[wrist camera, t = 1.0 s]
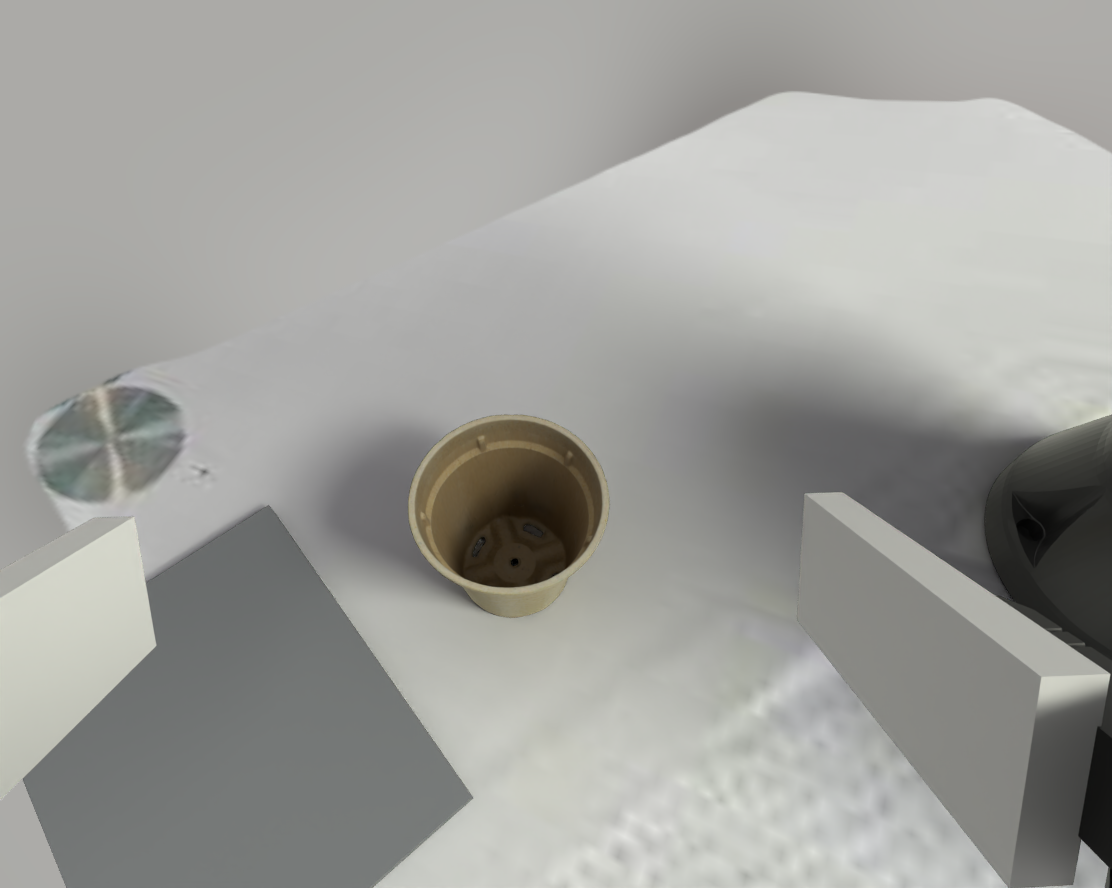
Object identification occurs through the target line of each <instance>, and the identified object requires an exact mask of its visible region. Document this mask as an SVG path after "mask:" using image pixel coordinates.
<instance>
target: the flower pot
mask: <svg viewBox="0 0 1112 888" xmlns="http://www.w3.org/2000/svg"><path fill="white" fill-rule="evenodd" d="M608 514H609V493H608V486H607V481H606V478H605V475H604V473H603V470H602V468H601V466H600V464H599V462H598V461H597V459H596V458H595V456H594V454H593V453H592V452H591V450H590V449H589V448H588V447H587V446H586V445H585V444H584V443H583V442H582V441H581V440H580V439H579V438H578V437H577V436H575V435H573V434H572V433H571V432H569V431H568V430H567V429H565V428H563V427H561V426H559V425H557V424H555V423H553V422H550V421H547V420H543V419H540V418H537V417H532V416H526V415H495V416H488V417H485V418H482V419H477V420H474V421H471V422H469V423H467V424H465V425H462V426H460V427H459V428H457V429H455V430H453V431H451V432H450V433H448V434H447V435H446V436H444V437H443V438H442V439H441V440H440V441H439V442H438V443H437V444H436V445H434V446H433V447H432V449H431V450H430V451H429V452H428V453H427V455H426V456H425V457H424V459H423V460H422V462H421V464H420V465H419V467H418V469H417V471H416V473H415V475H414V478H413V480H412V483H411V487H410V491H409V498H408V516H409V524H410V528H411V531H412V534H413V537H414V539H415V542H416V544H417V546H418V547H419V549H420V551H421V553H422V554H423V555H424V557H425V558H426V559H427V561H428V562H429V563H430V564H431V565H432V566H433V567H434V568H435V569H436V570H437V571H438V572H439V573H440V574H442V575H443V576H444V577H446V578H447V579H449V580H450V581H452V582H454V583H455V584H457V585H459V586H462V587H463V588H464V589H465V591H466V592H467V594H468V595H469V597H470V598H471V599H472V600H473V601H474V602H475V603H476V604H477V605H479V606H480V607H481V608H482V609H484V610H486V611H488V612H490V613H492V614H495V615H498V616H503V617H510V618H516V617H522V616H526V615H530V614H533V613H536V612H539V611H541V610H543V609H545V608H546V607H548V606H549V605H550V604H551V603H553V601H554V600H555V599H556V598H557V597H558V596H559V595H560V593H561V592H562V590H563V588H564V587H565V584H566V582H567V580H568V577H570V576H571V575H572V574H574V573H575V572H576V571H577V570H578V569H579V568H581V567H582V566H583V565H584V564H585V562H586V561H587V560H588V559H589V558H590V556H591V555H592V554H593V552H594V551H595V549H596V548H597V546H598V544H599V542H600V540H601V538H602V536H603V534H604V531H605V527H606V524H607V520H608ZM525 525H532V526H534V527H535V528H537V529H538V530H541V531H542V532H543V535H542V536H541V537H538V536H536V535H533V534H531V533H529V532H527V531H524V527H525ZM482 537H484V538H485V544H484V545H483V546H482V547H481V549H480V551H479V553H478V555H477V556H476V557H473V556H472V555H473V550H474V548H475V545H476V544H477V542H478V540H479V539H480V538H482ZM512 559H517V560H518V564H517V565H515V566H512V564H511V560H512ZM553 574H557V575H556V576H554V577H553Z"/></svg>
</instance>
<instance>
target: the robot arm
mask: <svg viewBox="0 0 1112 888" xmlns="http://www.w3.org/2000/svg"><path fill="white" fill-rule="evenodd" d="M985 533H986V539H987V544H988V548H989V552H990V555H991V558H992V561H993V563H994V565H995V568H996V570H997V572H998V574H999V576H1000V578H1001V580H1002V582H1003V584H1004V585H1005V587H1006V589H1007V590H1008V592H1009V593H1010V595H1011V596H1012V598H1013V599H1014V601H1015V602H1013V601H1011V600H1008V599H1006V598H1003V597H1001V596H995V595H993V594H992V593H990V592H989V591H987V590H986V589H985V588H983V587H982V586H980V585H979V584H977V583H976V582H974V581H973V580H971V579H970V578H968V577H967V576H965V575H964V574H962V573H961V572H959V571H958V570H956V569H955V568H954V567H952V566H951V565H949V564H948V563H946V562H945V561H943V560H942V559H940V558H939V557H937V556H936V555H934V554H933V553H931V552H930V551H928V550H927V549H926V548H924V547H923V546H921V545H920V544H918V543H917V542H915V541H914V540H912V539H911V538H909V537H908V536H906V535H905V534H903V533H902V532H900V531H899V530H897V529H896V528H895V527H893V526H892V525H890V524H889V523H887V522H886V521H884V520H883V519H881V518H880V517H878V516H877V515H875V514H874V513H872V512H871V511H869V510H868V509H867V508H865V507H864V506H862V505H861V504H859V503H858V502H856V501H855V500H853V499H852V498H850V497H849V496H847V495H846V494H844V493H843V492H831V493H805V494H804V510H803V527H802V543H801V559H800V575H799V591H798V608H797V621H798V622H799V623H800V624H801V626H802V627H803V628H804V630H805V631H806V632H807V633H808V635H809V636H810V637H811V638H812V640H813V641H814V642H815V643H816V645H817V646H818V647H819V648H820V650H821V651H822V652H823V654H824V655H825V656H826V657H827V659H828V660H829V661H830V662H831V664H832V665H833V666H834V667H835V669H836V670H837V671H838V673H839V674H840V675H841V676H842V678H843V679H844V680H845V681H846V683H847V684H848V685H849V686H850V688H851V689H852V690H853V691H854V693H855V694H856V695H857V697H858V698H859V699H860V700H861V702H862V703H863V704H864V705H865V707H866V708H867V709H868V710H869V712H870V713H871V714H872V716H873V717H874V718H875V719H876V721H877V722H878V723H879V724H880V726H881V727H882V728H883V729H884V731H885V732H886V733H887V734H888V736H889V737H890V738H891V740H892V741H893V742H894V743H895V745H896V746H897V747H898V748H899V750H900V751H901V752H902V753H903V755H904V756H905V757H906V759H907V760H908V761H909V762H910V764H911V765H912V766H913V767H914V769H915V770H916V771H917V772H918V774H919V775H920V776H921V777H922V779H923V780H924V781H925V783H926V784H927V785H928V786H929V788H930V789H931V790H932V791H933V793H934V794H935V795H936V796H937V798H938V799H939V800H940V802H941V803H942V804H943V805H944V807H945V808H946V809H947V810H948V812H949V813H950V814H951V815H952V817H953V818H954V819H955V820H956V822H957V823H958V824H959V826H960V827H961V828H962V829H963V831H964V832H965V833H966V834H967V836H968V837H969V838H970V839H971V841H972V842H973V843H974V845H975V846H976V847H977V848H978V850H979V851H980V852H981V853H982V855H983V856H984V857H985V858H986V860H987V861H988V862H989V863H990V865H991V866H992V867H993V869H994V870H995V871H996V872H997V874H998V875H999V876H1000V877H1001V879H1002V880H1003V881H1004V882H1005V884H1006V885H1007V886H1008V888H1026V887H1044V886H1063V885H1073V882H1074V877H1075V871H1076V865H1077V860H1078V854H1079V849H1080V843H1081V839H1082V840H1083V841H1084V842H1085V843H1086V844H1087V845H1088V846H1089V847H1090V848H1091V849H1092V850H1093V851H1094V853H1095V854H1096V855H1097V856H1098V857H1099V858H1100V859H1101V860H1102V861H1103V862H1104V863H1105V864H1106V865H1107V866H1108V867H1109V868H1108V873H1107V879H1106V884H1105V888H1112V415H1109V416H1106V417H1103V418H1100V419H1097V420H1094V421H1091V422H1088V423H1085V424H1082V425H1079V426H1076V427H1073V428H1070V429H1067V430H1065V431H1062V432H1059V433H1056V434H1053V435H1051V436H1049V437H1047V438H1044V439H1043V440H1041V441H1039V442H1037V443H1036V444H1034V445H1032V446H1031V447H1030V448H1028V449H1027V450H1026V451H1025V452H1024V453H1022V454H1021V455H1020V456H1019V457H1018V458H1017V459H1016V460H1014V461H1013V462H1012V463H1011V464H1010V465H1009V466H1008V467H1007V468H1006V469H1004V471H1003V472H1002V473H1001V474H1000V475H999V477H998V478H997V479H996V481H995V483H994V485H993V486H992V488H991V491H990V493H989V496H988V500H987V504H986V510H985ZM155 647H156V641H155V635H154V629H153V623H152V617H151V611H150V605H149V600H148V594H147V588H146V582H145V576H144V570H143V564H142V558H141V552H140V547H139V541H138V535H137V529H136V523H135V517H134V516H133V517H104V518H93V519H91V520H89V521H87V522H86V523H84V524H82V525H80V526H78V527H76V528H75V529H73V530H71V531H69V532H67V533H66V534H64V535H62V536H60V537H58V538H57V539H55V540H53V541H51V542H49V543H48V544H46V545H44V546H42V547H40V548H39V549H37V550H35V551H33V552H31V553H30V554H28V555H26V556H24V557H22V558H21V559H19V560H17V561H15V562H13V563H12V564H10V565H8V566H6V567H4V568H3V569H1V570H0V801H1V800H2V799H3V798H4V797H5V796H6V794H8V793H9V791H11V790H12V789H13V788H14V787H15V786H16V785H17V784H18V783H19V782H20V781H21V780H22V779H23V778H24V777H25V776H26V775H27V774H28V773H29V772H30V771H31V770H32V769H33V768H34V767H35V766H36V765H37V764H38V763H39V762H40V761H41V760H42V759H43V758H44V757H45V756H46V755H47V754H48V753H49V752H50V751H51V750H52V749H53V748H54V747H55V746H56V745H57V744H58V743H59V742H60V741H61V740H62V739H63V738H64V737H65V736H66V735H67V734H68V733H69V732H70V731H71V730H72V729H73V728H74V727H75V726H76V725H77V724H78V723H79V722H80V721H81V720H82V719H83V718H84V717H85V716H86V715H87V714H88V713H89V712H90V711H91V710H92V709H93V708H94V707H95V706H96V705H97V704H98V703H99V702H100V701H101V700H102V699H103V698H104V697H105V696H106V695H107V694H108V693H109V692H110V691H111V690H112V689H113V688H114V687H115V686H116V685H117V684H118V683H119V682H120V681H121V680H122V679H123V678H124V677H125V676H126V675H127V674H128V673H129V672H130V671H131V670H132V669H133V668H134V667H135V666H136V665H138V664H139V663H140V662H141V661H142V660H143V659H144V658H145V657H146V656H147V655H148V654H149V653H150V652H151V651H152V650H153V649H154V648H155Z"/></svg>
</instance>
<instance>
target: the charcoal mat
mask: <svg viewBox="0 0 1112 888" xmlns="http://www.w3.org/2000/svg"><path fill="white" fill-rule="evenodd" d="M146 588H147V594H148V600H149V605H150V611H151V617H152V623H153V629H154V635H155V641H156V647H155V648H154V649H153V650H152V651H151V652H150V653H149V654H148V655H147V656H146V657H145V658H144V659H143V660H142V661H141V662H140V663H139V664H138V665H136V666H135V667H134V668H133V669H132V670H131V671H130V672H129V673H128V674H127V675H126V676H125V677H124V678H123V679H122V680H121V681H120V682H119V683H118V684H117V685H116V686H115V687H114V688H113V689H112V690H111V691H110V692H109V693H108V694H107V695H106V696H105V697H104V698H103V699H102V700H101V701H100V702H99V703H98V704H97V705H96V706H95V707H94V708H93V709H92V710H91V711H90V712H89V713H88V714H87V715H86V716H85V717H84V718H83V719H82V720H81V721H80V722H79V723H78V724H77V725H76V726H75V727H74V728H73V729H72V730H71V731H70V732H69V733H68V734H67V735H66V736H65V737H64V738H63V739H62V740H61V741H60V742H59V743H58V744H57V745H56V746H55V747H54V748H53V749H52V750H51V751H50V752H49V753H48V754H47V755H46V756H45V757H44V758H43V759H42V760H41V761H40V762H39V763H38V764H37V765H36V766H35V767H34V768H33V769H32V770H31V771H30V772H29V773H28V774H27V775H26V776H25V777H24V778H23V781H24V784H25V786H26V789H27V791H28V794H29V796H30V798H31V801H32V804H33V806H34V809H35V811H36V814H37V816H38V819H39V821H40V823H41V826H42V828H43V831H44V833H45V836H46V838H47V841H48V843H49V846H50V848H51V851H52V853H53V856H54V858H55V860H56V863H57V865H58V868H59V870H60V873H61V875H62V878H63V880H64V883H65V885H66V888H373V887H374V886H375V885H376V884H377V883H378V882H379V881H380V880H382V879H383V878H384V877H385V876H386V875H387V874H388V873H389V872H391V871H392V870H393V869H394V868H395V867H396V866H397V865H398V864H400V863H401V862H402V861H403V860H404V859H405V858H406V857H407V856H409V855H410V854H411V853H412V852H413V851H414V850H415V849H416V848H418V847H419V846H420V845H421V844H422V843H423V842H424V841H425V840H427V839H428V838H429V837H430V836H431V835H432V834H433V833H434V832H436V831H437V830H438V829H439V828H440V827H441V826H442V825H443V824H445V823H446V822H447V821H448V820H449V819H450V818H451V817H452V816H454V815H455V814H456V813H457V812H458V811H459V810H460V809H461V808H463V807H464V806H465V805H466V804H467V803H468V802H469V801H470V800H472V799H473V797H472V795H471V794H470V792H469V791H468V790H467V788H466V787H465V785H464V784H463V782H462V781H461V780H460V778H459V777H458V775H457V774H456V772H455V771H454V769H453V768H452V767H451V765H450V764H449V762H448V761H447V759H446V758H445V757H444V755H443V754H442V752H441V751H440V749H439V748H438V747H437V745H436V744H435V742H434V741H433V739H432V738H431V736H430V735H429V734H428V732H427V731H426V729H425V728H424V726H423V725H422V724H421V722H420V721H419V719H418V718H417V716H416V715H415V714H414V712H413V711H412V709H411V708H410V706H409V705H408V703H407V702H406V701H405V699H404V698H403V696H402V695H401V693H400V692H399V691H398V689H397V688H396V686H395V685H394V683H393V682H392V680H391V679H390V678H389V676H388V675H387V673H386V672H385V670H384V669H383V668H382V666H381V665H380V663H379V662H378V660H377V659H376V658H375V656H374V655H373V653H372V652H371V650H370V649H369V647H368V646H367V645H366V643H365V642H364V640H363V639H362V637H361V636H360V635H359V633H358V632H357V630H356V629H355V627H354V626H353V625H352V623H351V622H350V620H349V619H348V617H347V616H346V614H345V613H344V612H343V610H342V609H341V607H340V606H339V604H338V603H337V602H336V600H335V599H334V597H333V596H332V594H331V593H330V592H329V590H328V589H327V587H326V586H325V584H324V583H323V581H322V580H321V579H320V577H319V576H318V574H317V573H316V571H315V570H314V569H313V567H312V566H311V564H310V563H309V561H308V560H307V558H306V557H305V556H304V554H303V553H302V551H301V550H300V548H299V547H298V546H297V544H296V543H295V541H294V540H293V538H292V537H291V536H290V534H289V533H288V531H287V530H286V528H285V527H284V525H283V524H282V523H281V521H280V520H279V518H278V517H277V515H276V514H275V513H274V511H273V510H272V509H271V507H270V506H269V505H268V506H267V507H265V508H263V509H262V510H260V511H259V512H257V513H256V514H254V515H252V516H251V517H249V518H248V519H246V520H245V521H243V522H241V523H240V524H238V525H237V526H235V527H234V528H232V529H230V530H229V531H227V532H226V533H224V534H223V535H221V536H219V537H218V538H216V539H215V540H213V541H212V542H210V543H208V544H207V545H205V546H204V547H202V548H201V549H199V550H197V551H196V552H194V553H193V554H191V555H190V556H188V557H186V558H185V559H183V560H182V561H180V562H179V563H177V564H175V565H174V566H172V567H171V568H169V569H168V570H166V571H164V572H163V573H161V574H160V575H158V576H157V577H155V578H153V579H152V580H150V581H149V582H147V583H146Z"/></svg>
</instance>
